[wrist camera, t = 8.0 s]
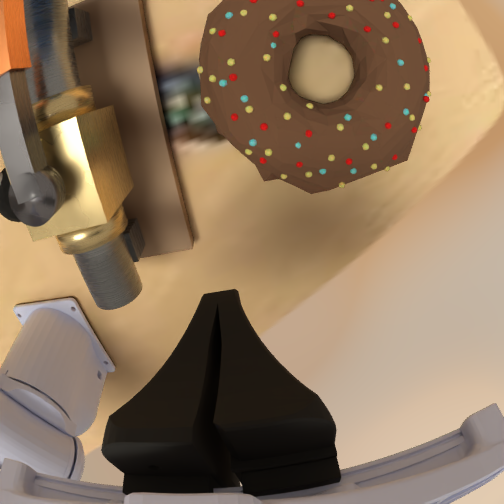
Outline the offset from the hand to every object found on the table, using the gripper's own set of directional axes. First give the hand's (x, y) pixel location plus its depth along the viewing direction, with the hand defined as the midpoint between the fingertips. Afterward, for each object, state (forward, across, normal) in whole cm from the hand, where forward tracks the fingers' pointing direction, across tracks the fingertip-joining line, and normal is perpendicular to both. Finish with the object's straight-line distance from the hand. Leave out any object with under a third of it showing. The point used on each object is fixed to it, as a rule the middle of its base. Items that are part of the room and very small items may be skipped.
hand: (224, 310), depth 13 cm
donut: (+11, -7, -8) cm, 15 cm away
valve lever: (+3, +7, -10) cm, 13 cm away
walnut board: (+10, +7, -7) cm, 14 cm away
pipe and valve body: (+9, +7, -7) cm, 14 cm away
